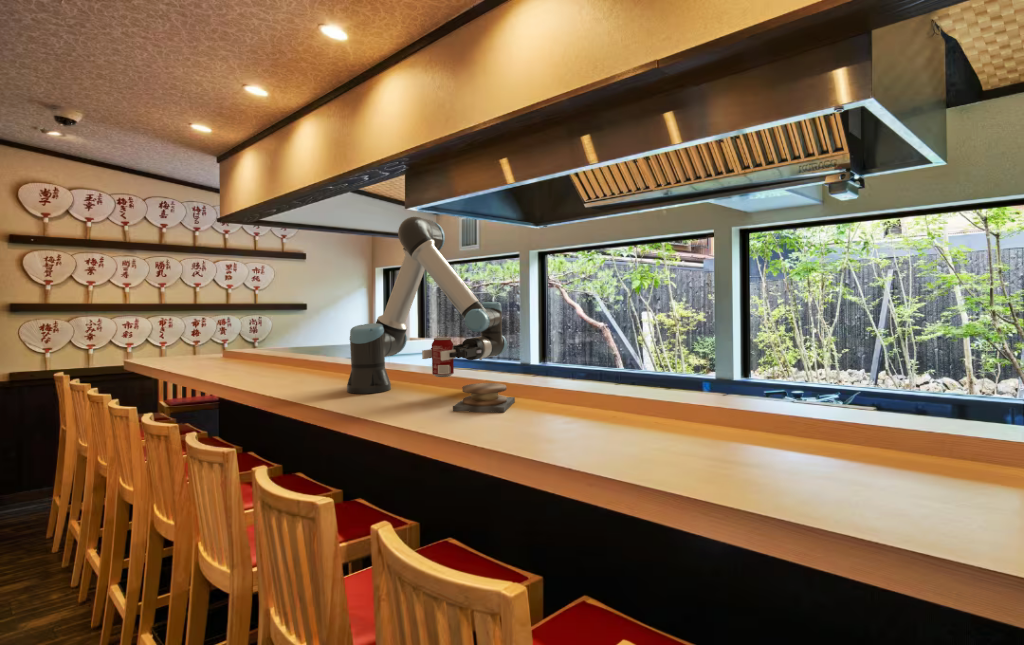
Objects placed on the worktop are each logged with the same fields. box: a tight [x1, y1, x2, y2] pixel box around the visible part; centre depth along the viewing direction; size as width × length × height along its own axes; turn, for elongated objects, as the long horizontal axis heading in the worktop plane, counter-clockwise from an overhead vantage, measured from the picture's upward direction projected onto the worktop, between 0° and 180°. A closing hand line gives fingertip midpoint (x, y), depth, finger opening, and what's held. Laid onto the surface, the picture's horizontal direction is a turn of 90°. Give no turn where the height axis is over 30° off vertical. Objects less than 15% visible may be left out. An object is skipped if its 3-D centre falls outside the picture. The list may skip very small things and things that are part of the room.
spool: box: [452, 382, 516, 414], centre depth 167 cm, size 15×15×6 cm
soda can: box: [431, 336, 455, 378], centre depth 178 cm, size 7×7×12 cm
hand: (432, 355), depth 174 cm, fingers closed on soda can, 7 cm apart
